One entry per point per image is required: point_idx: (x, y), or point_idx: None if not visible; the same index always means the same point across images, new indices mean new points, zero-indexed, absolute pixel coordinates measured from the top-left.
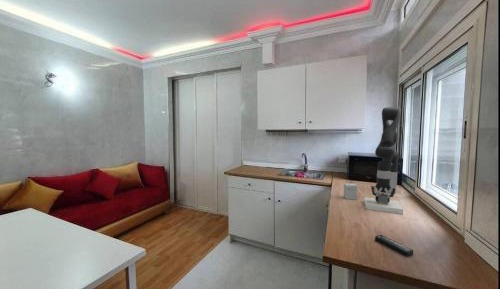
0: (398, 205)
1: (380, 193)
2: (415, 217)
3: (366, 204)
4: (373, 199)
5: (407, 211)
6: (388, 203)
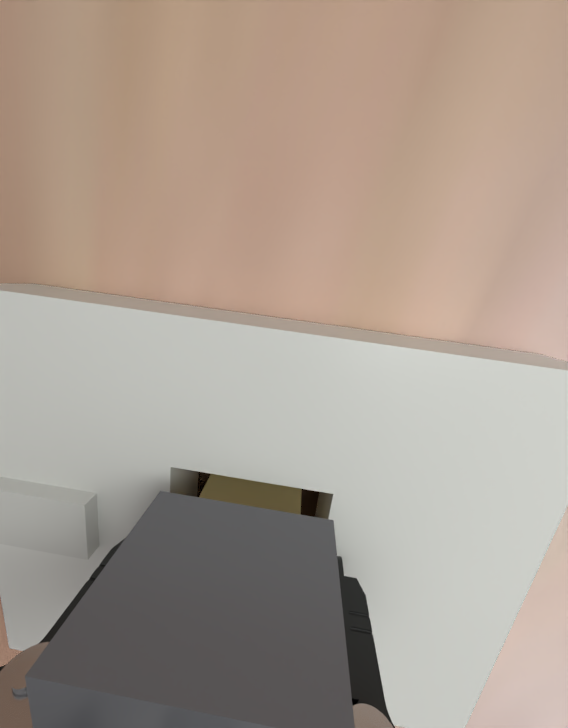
0: (479, 621)
1: (131, 703)
2: (524, 709)
3: (11, 644)
4: (122, 392)
5: (548, 572)
6: (345, 557)
